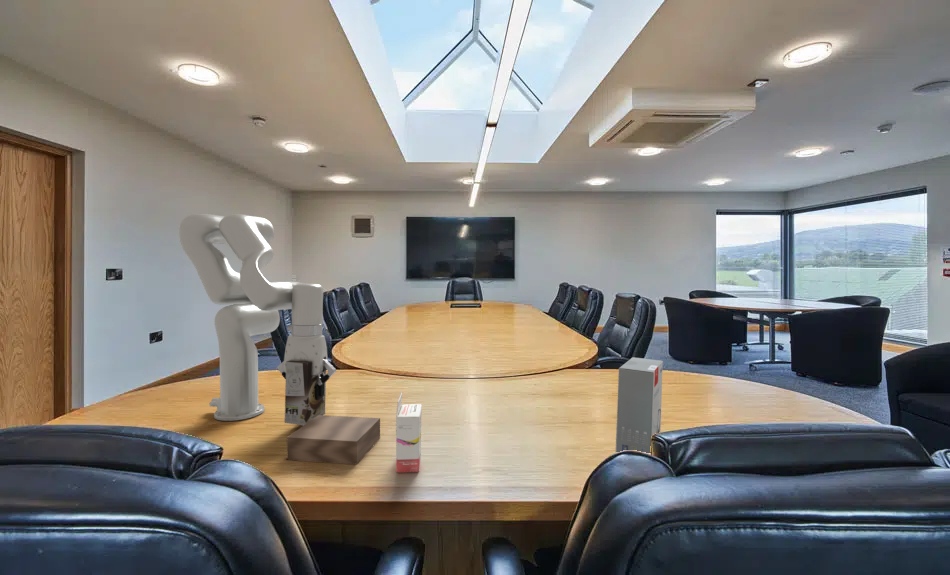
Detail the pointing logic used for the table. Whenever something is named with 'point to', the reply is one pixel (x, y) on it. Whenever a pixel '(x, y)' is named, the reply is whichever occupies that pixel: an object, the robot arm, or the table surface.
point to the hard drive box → (638, 404)
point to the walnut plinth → (334, 439)
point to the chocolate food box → (301, 394)
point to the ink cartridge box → (408, 437)
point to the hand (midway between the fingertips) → (306, 397)
